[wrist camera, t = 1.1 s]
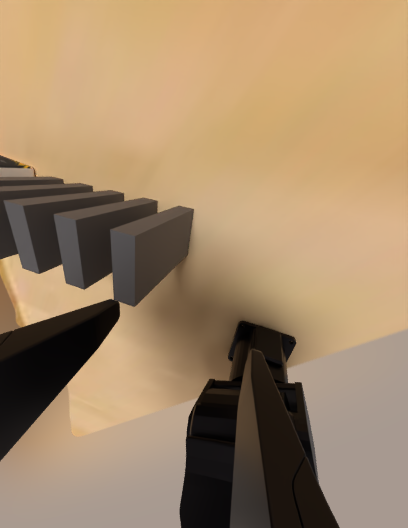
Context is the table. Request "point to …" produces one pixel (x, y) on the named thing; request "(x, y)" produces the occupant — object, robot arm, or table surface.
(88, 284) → the domino
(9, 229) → the domino
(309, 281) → the table surface
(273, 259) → the table surface
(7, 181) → the domino
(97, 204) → the domino
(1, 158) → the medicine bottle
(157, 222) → the domino
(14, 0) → the table surface
